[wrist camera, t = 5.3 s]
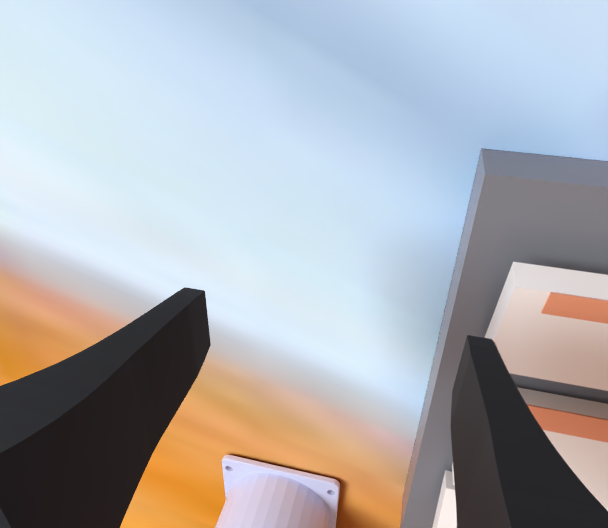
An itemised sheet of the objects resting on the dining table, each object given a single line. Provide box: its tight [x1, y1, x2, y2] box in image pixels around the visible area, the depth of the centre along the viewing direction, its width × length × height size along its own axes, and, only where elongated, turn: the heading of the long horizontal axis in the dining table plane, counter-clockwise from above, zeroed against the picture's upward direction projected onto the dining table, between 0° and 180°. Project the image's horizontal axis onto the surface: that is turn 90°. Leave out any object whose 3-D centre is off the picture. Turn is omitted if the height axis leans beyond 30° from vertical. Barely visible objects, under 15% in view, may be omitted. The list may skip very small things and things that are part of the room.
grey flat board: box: [400, 149, 608, 528], centre depth 22 cm, size 30×12×2 cm, turn 179°
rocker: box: [452, 387, 608, 511], centre depth 21 cm, size 5×9×1 cm, turn 89°
